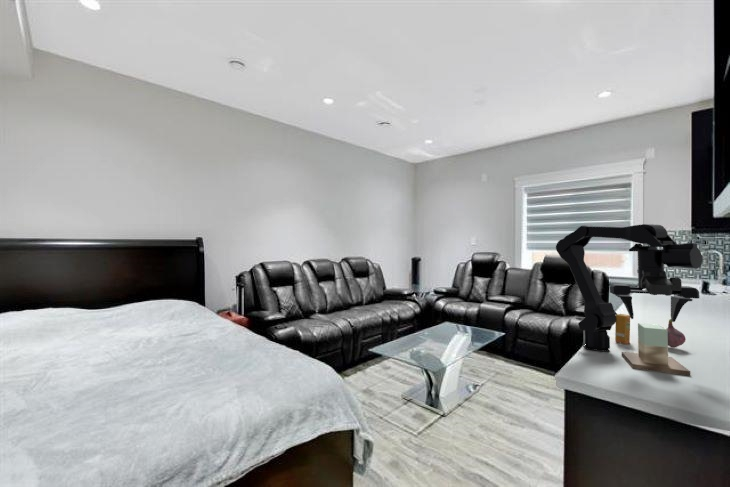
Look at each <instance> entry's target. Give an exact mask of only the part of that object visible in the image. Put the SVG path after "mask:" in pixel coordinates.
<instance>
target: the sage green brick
mask: <svg viewBox="0 0 730 487" xmlns="http://www.w3.org/2000/svg"><path fill="white" fill-rule="evenodd" d="M638 340H639V341H640V342H642V343H643V344H644V345H649V346H659V347H668V348H669V346H668V332H667V327H666V328H665V327H664V326H662V325H660V324H653V323H641V322H637V341H638Z"/></svg>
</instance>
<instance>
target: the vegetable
mask: <svg viewBox="0 0 730 487" xmlns="http://www.w3.org/2000/svg"><path fill="white" fill-rule="evenodd" d="M666 329H667V332H668V347H670V348H671V349H675V348H678V347H680V346H682V345H684V344H685V343H686V340H687V339H686V336H685V334H684V333H683V332H681V331H680V330H678V329H677V328H675V327H674V325H673V322H672V321H671V318H670V319H668V326H667V327H666Z"/></svg>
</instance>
